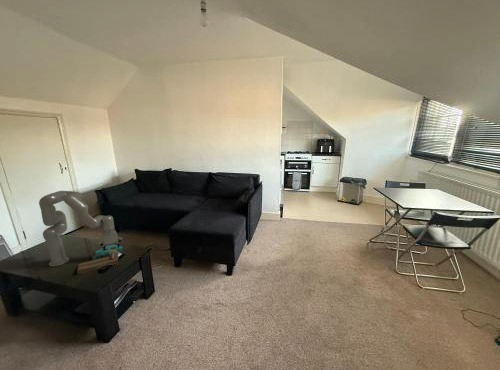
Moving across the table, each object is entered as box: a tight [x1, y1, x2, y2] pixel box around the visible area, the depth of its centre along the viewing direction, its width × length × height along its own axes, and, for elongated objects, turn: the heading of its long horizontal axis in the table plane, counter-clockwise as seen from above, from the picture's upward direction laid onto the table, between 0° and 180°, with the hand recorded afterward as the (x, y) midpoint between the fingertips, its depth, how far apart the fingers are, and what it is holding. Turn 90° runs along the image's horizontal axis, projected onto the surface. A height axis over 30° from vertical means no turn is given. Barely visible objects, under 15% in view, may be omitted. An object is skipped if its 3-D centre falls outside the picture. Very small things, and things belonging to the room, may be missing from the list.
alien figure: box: [92, 243, 123, 260], centre depth 192 cm, size 20×2×20 cm
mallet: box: [108, 248, 117, 259], centre depth 178 cm, size 14×5×7 cm, turn 32°
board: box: [76, 254, 119, 275], centre depth 170 cm, size 12×26×3 cm, turn 122°
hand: (111, 248), depth 181 cm, fingers open, 9 cm apart
